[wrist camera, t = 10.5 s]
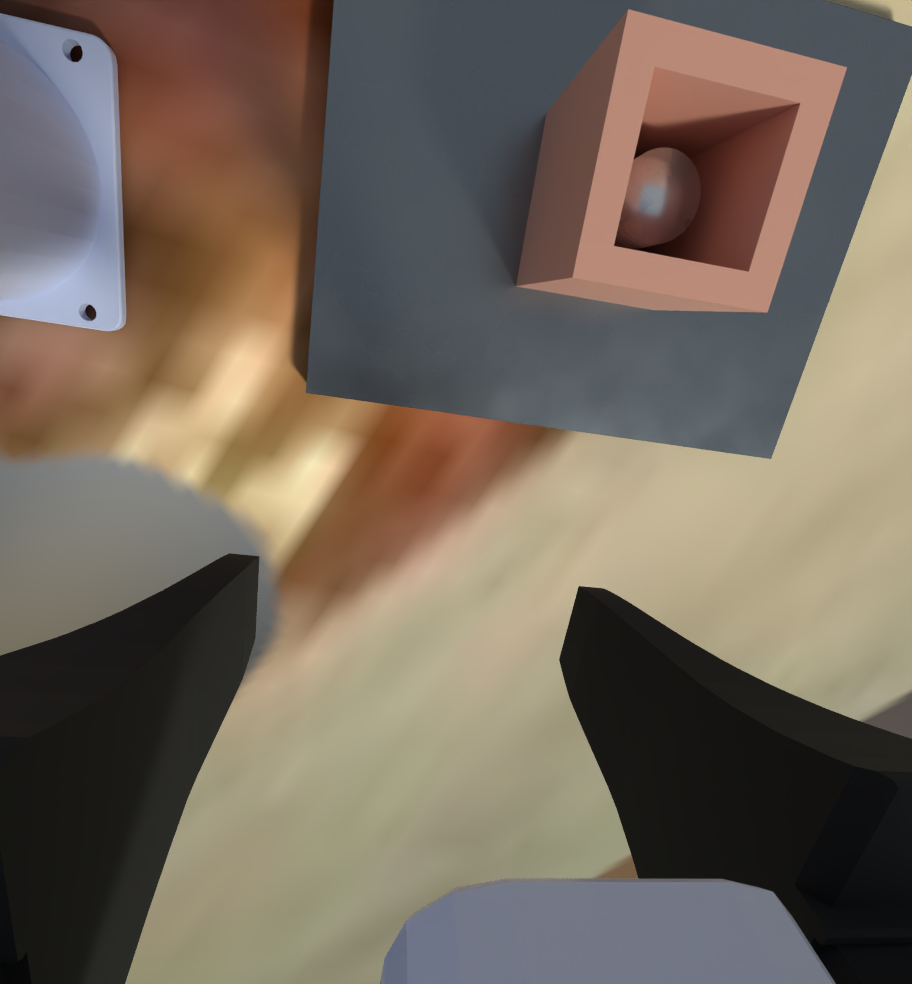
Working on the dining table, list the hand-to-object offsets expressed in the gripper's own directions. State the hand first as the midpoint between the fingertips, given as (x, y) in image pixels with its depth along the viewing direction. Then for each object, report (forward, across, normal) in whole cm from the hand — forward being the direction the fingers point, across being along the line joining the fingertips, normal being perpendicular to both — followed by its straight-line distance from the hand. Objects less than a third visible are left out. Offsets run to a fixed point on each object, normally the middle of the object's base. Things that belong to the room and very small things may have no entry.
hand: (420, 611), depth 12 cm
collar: (+8, -5, -10) cm, 14 cm away
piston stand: (+9, -5, -10) cm, 15 cm away
